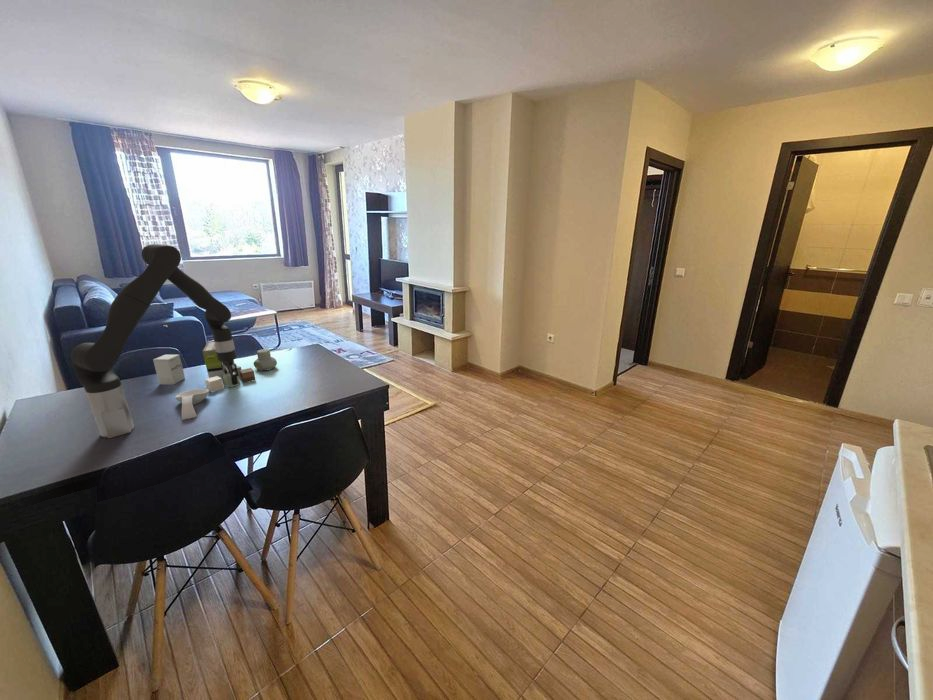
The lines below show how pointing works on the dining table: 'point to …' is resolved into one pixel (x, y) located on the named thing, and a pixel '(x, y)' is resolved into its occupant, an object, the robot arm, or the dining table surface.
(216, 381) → the cream cube
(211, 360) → the tea box
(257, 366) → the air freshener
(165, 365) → the supplement box
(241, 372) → the walnut cube
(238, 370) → the slate cube
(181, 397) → the spoon rest
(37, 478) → the dining table surface
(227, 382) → the sage cube
